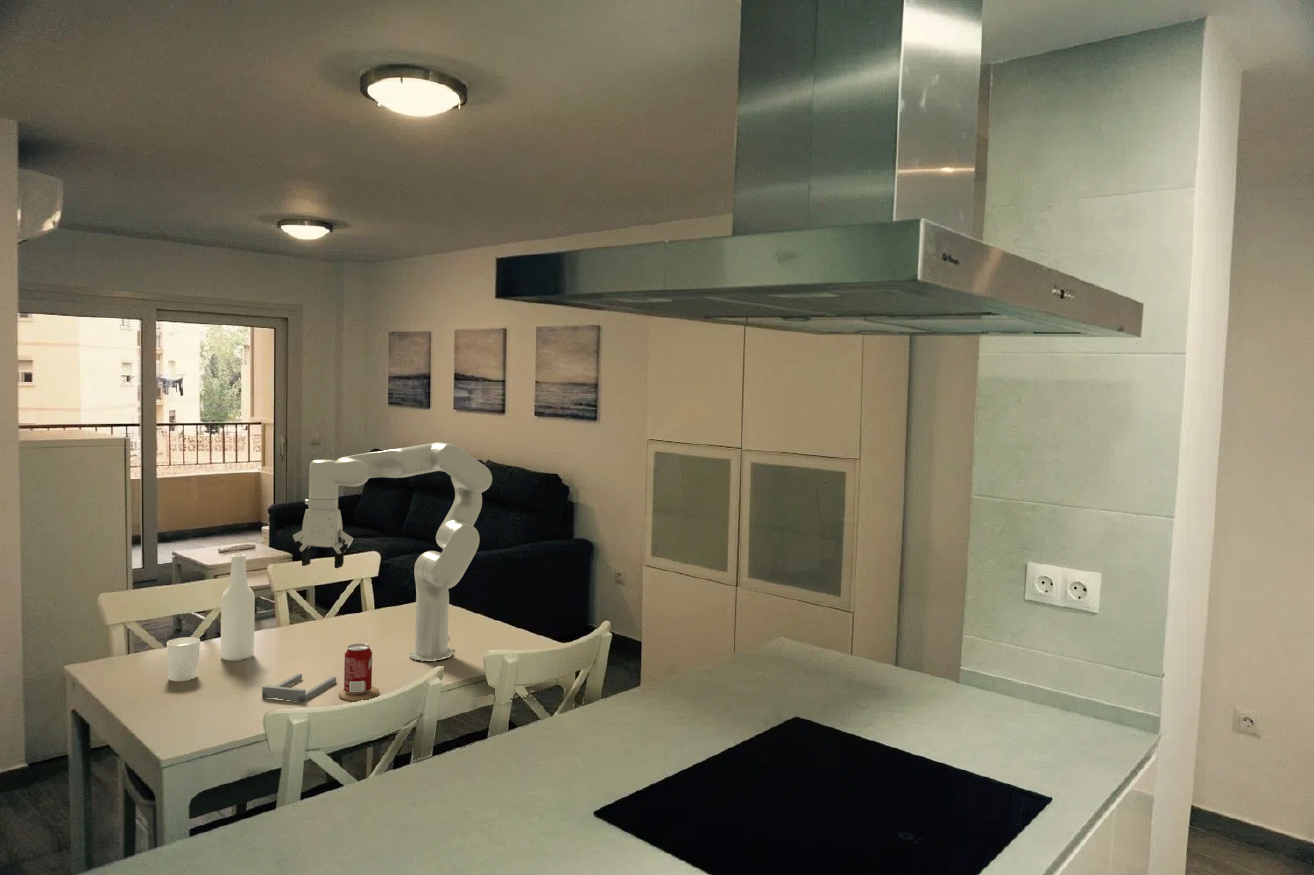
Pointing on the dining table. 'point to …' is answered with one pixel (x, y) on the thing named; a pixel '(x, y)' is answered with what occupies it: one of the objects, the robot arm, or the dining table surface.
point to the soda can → (358, 669)
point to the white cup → (183, 658)
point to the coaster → (369, 694)
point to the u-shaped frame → (294, 689)
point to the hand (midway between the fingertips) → (322, 566)
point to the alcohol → (237, 614)
